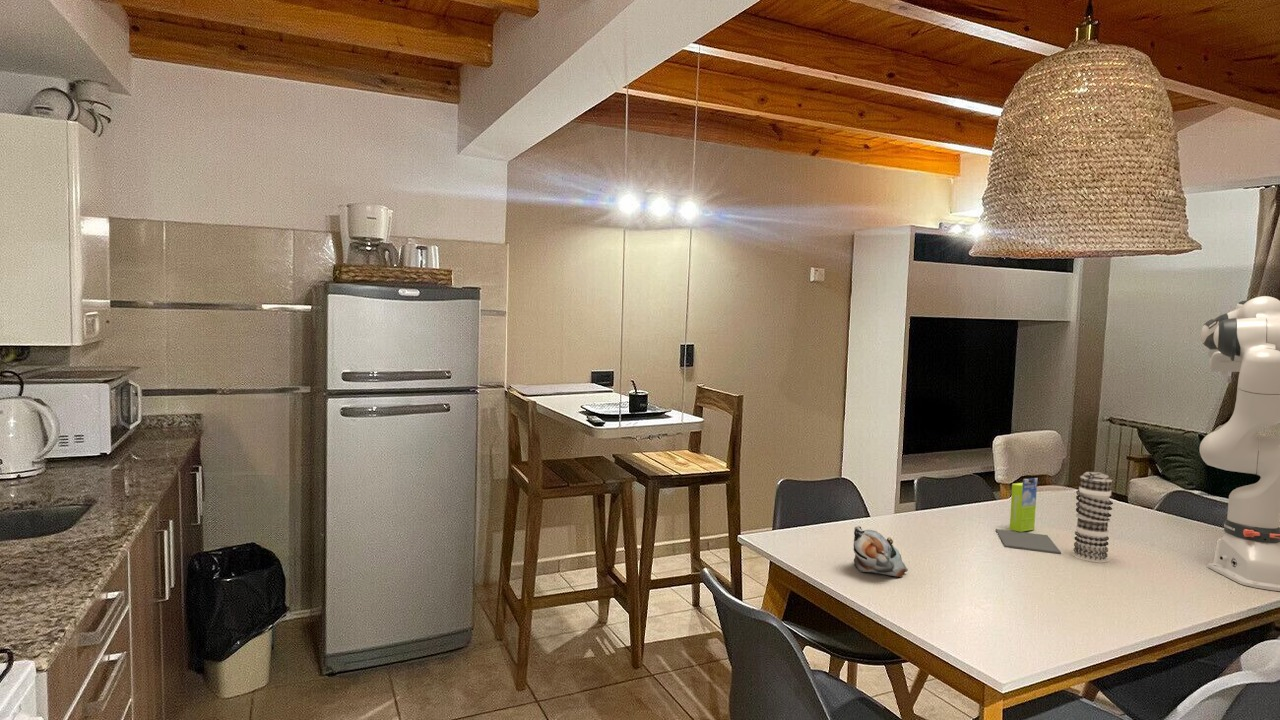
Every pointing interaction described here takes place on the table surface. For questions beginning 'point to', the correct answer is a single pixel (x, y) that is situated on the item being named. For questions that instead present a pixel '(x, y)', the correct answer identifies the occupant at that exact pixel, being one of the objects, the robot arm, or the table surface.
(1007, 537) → the mat
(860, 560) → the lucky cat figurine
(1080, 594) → the table surface
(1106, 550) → the decorative candle
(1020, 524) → the box
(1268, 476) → the robot arm
